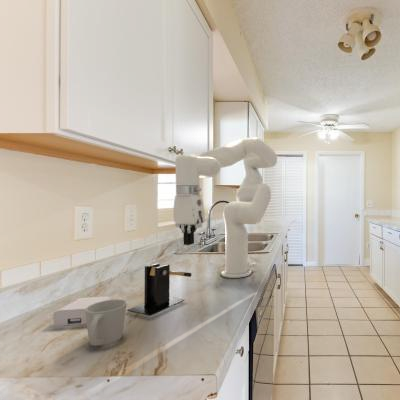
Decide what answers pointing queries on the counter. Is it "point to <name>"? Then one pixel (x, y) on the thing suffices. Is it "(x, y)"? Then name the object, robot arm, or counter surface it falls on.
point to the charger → (76, 311)
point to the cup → (105, 321)
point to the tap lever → (172, 273)
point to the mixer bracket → (156, 291)
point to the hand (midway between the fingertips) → (188, 244)
